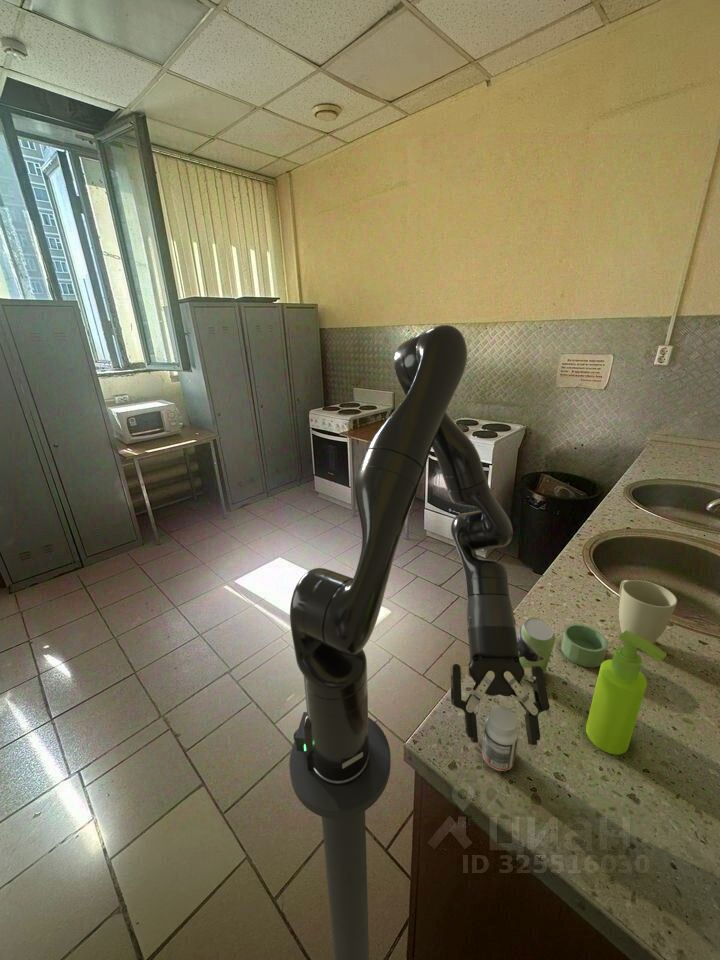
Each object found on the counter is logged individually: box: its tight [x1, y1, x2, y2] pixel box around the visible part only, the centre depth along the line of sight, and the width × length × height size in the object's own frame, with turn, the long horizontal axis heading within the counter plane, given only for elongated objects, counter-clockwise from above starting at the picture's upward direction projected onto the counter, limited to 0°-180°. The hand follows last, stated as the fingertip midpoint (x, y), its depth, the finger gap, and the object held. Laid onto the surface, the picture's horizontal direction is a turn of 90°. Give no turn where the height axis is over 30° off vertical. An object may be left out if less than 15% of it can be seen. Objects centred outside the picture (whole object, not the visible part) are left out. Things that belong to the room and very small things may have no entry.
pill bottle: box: [481, 705, 519, 772], centre depth 59 cm, size 5×5×8 cm
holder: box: [560, 623, 608, 668], centre depth 79 cm, size 8×8×4 cm
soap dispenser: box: [585, 630, 668, 756], centre depth 59 cm, size 6×7×20 cm
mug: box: [618, 579, 678, 644], centre depth 82 cm, size 11×10×12 cm
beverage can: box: [516, 617, 556, 682], centre depth 73 cm, size 6×7×12 cm
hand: (503, 742), depth 58 cm, fingers open, 8 cm apart
